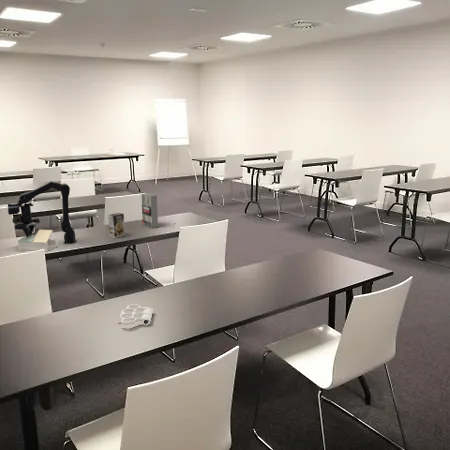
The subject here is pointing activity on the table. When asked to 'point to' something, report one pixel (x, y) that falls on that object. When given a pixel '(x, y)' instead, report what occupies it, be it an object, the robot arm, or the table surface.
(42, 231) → the lid inner
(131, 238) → the table surface
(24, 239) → the lid outer
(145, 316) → the white flat holed piece
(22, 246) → the white tray
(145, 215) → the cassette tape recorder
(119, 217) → the coffee box
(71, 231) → the robot arm
